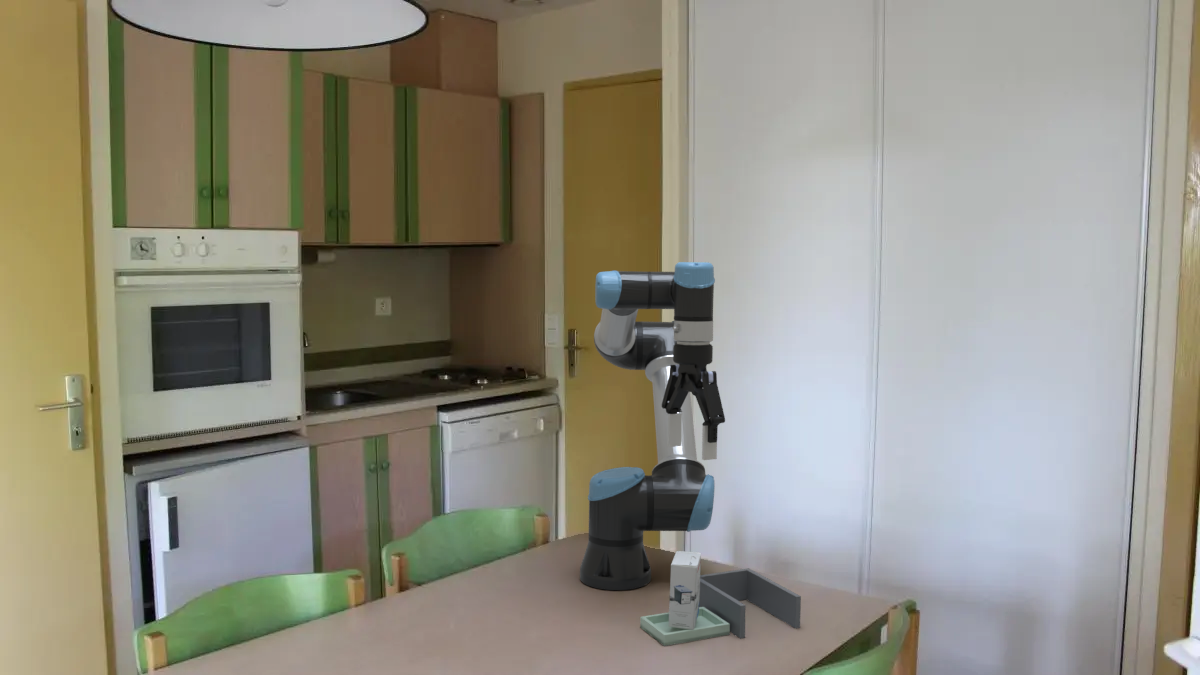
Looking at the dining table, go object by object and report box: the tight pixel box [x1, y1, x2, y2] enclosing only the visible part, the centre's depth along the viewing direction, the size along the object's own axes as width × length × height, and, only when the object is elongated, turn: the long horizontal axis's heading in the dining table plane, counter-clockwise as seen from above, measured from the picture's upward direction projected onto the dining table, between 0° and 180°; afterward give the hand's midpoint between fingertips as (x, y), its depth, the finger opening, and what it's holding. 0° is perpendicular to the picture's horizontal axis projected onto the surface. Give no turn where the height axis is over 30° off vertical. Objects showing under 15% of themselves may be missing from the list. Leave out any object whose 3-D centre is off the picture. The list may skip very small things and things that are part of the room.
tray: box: [639, 607, 731, 647], centre depth 174 cm, size 9×13×2 cm
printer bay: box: [699, 568, 802, 640], centre depth 181 cm, size 18×13×6 cm
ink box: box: [668, 550, 702, 630], centre depth 174 cm, size 9×5×12 cm, turn 168°
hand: (691, 452), depth 184 cm, fingers open, 13 cm apart
